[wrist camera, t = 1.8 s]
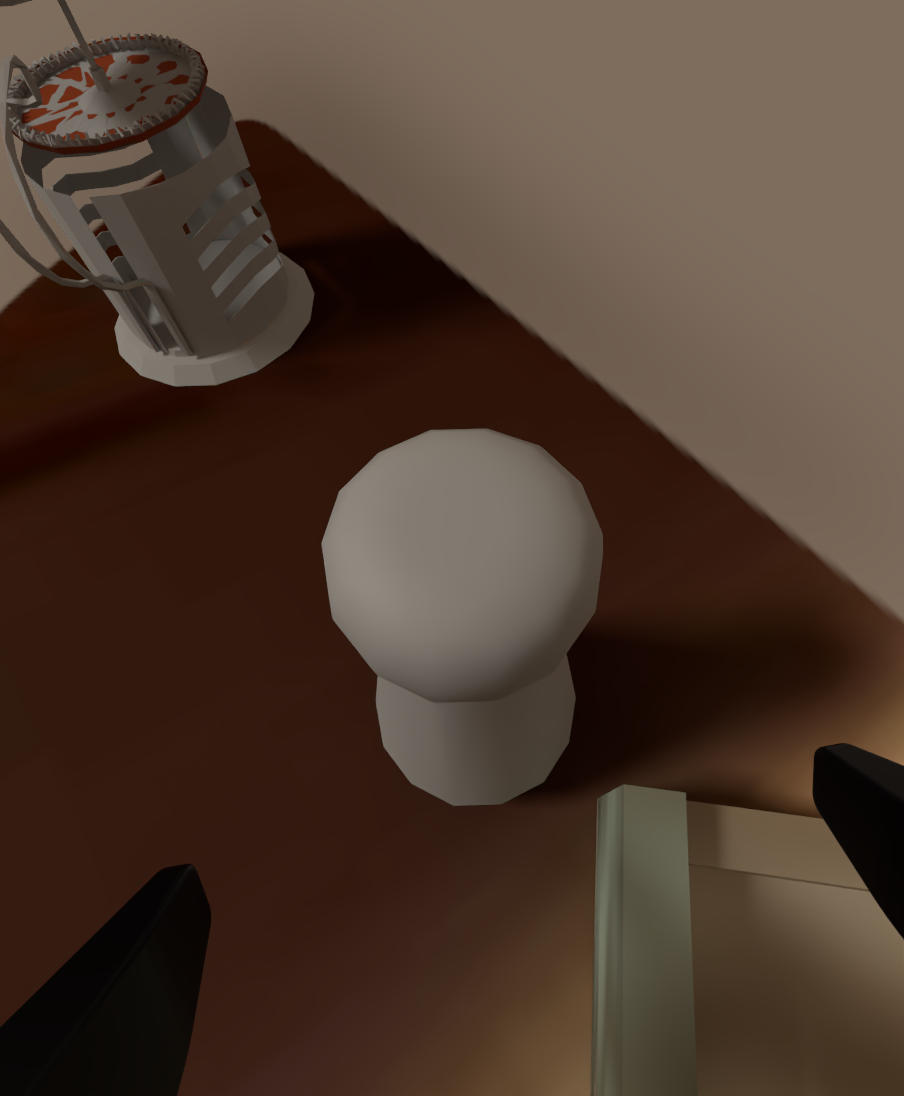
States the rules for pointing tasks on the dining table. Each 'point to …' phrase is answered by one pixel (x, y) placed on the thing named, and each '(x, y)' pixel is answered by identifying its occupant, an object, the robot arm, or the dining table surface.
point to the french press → (155, 206)
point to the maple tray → (737, 956)
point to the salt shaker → (466, 605)
